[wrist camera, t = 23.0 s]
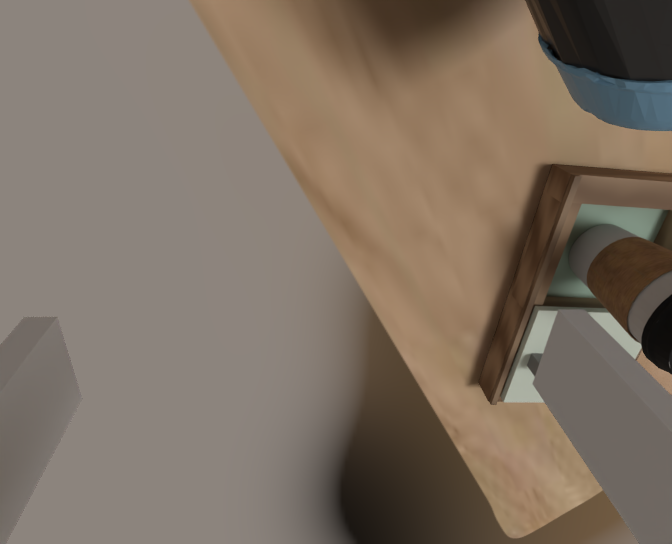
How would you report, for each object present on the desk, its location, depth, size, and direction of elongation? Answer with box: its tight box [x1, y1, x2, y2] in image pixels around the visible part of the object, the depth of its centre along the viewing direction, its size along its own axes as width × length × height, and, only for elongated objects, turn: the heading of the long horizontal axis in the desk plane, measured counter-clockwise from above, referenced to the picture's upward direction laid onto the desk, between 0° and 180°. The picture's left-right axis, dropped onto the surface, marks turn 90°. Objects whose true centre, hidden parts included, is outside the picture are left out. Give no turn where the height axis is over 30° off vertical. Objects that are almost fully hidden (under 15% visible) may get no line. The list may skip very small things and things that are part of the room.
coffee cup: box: [569, 224, 672, 374], centre depth 39 cm, size 8×8×15 cm
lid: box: [501, 306, 642, 402], centre depth 47 cm, size 12×13×3 cm
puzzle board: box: [478, 164, 672, 405], centre depth 46 cm, size 26×15×4 cm, turn 174°
